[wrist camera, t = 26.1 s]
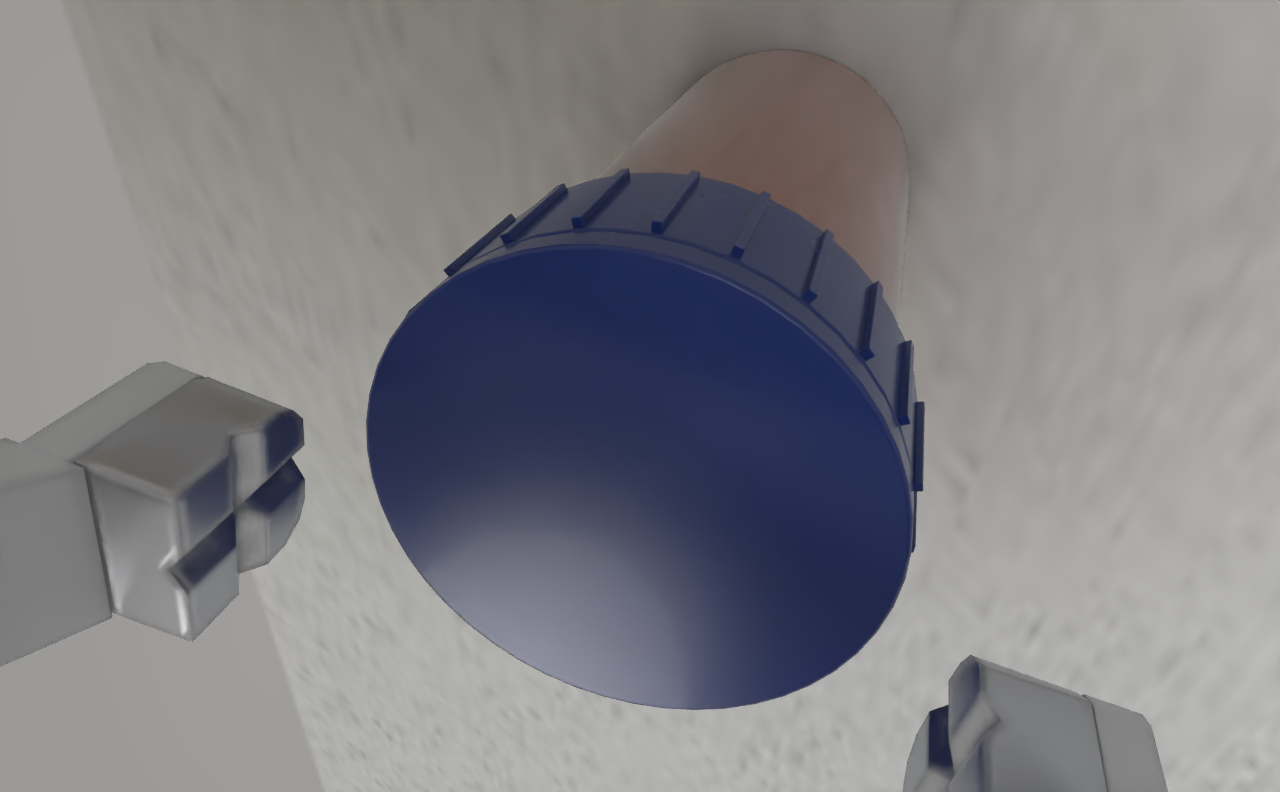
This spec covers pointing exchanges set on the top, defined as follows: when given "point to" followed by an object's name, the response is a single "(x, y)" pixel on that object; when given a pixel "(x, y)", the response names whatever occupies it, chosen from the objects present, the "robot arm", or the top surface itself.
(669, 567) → the jar lid
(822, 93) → the jar
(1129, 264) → the top surface
